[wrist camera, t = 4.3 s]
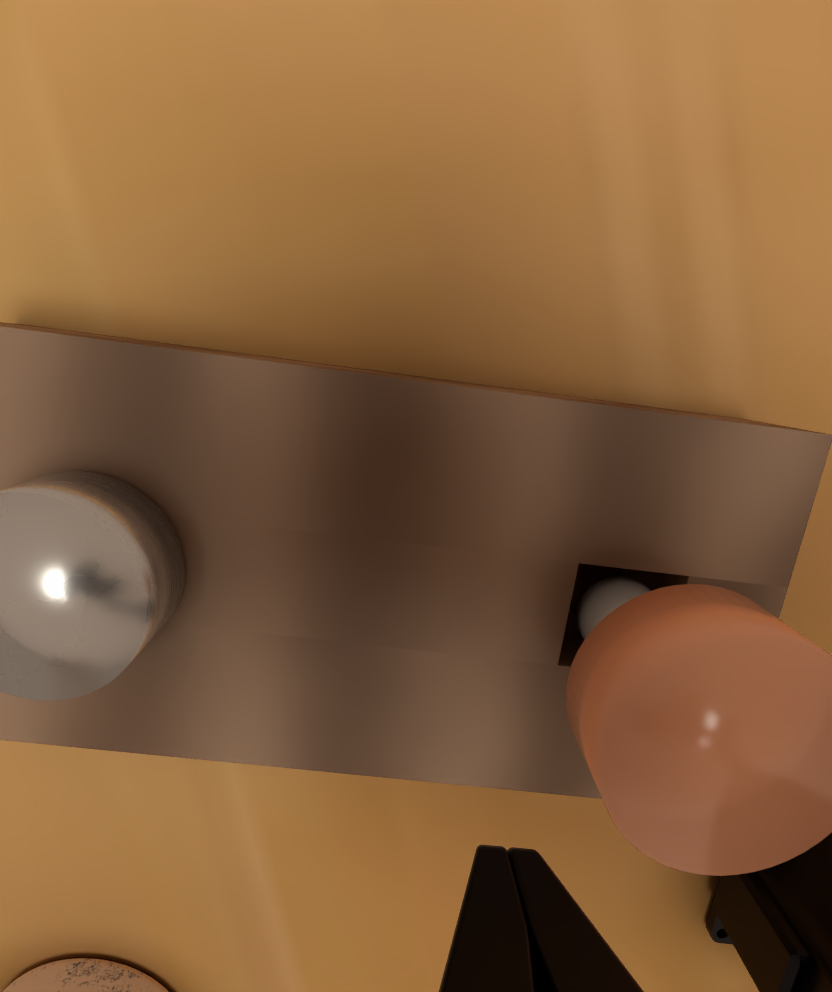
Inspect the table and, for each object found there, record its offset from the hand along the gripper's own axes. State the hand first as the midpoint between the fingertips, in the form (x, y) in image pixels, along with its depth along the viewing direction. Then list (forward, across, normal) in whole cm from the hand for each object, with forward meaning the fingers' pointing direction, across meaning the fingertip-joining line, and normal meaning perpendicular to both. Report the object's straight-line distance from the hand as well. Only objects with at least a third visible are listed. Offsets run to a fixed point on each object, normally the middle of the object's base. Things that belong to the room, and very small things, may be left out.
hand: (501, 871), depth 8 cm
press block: (+12, +3, 0) cm, 13 cm away
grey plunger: (+12, +10, -1) cm, 16 cm away
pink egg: (+9, -5, 0) cm, 10 cm away
